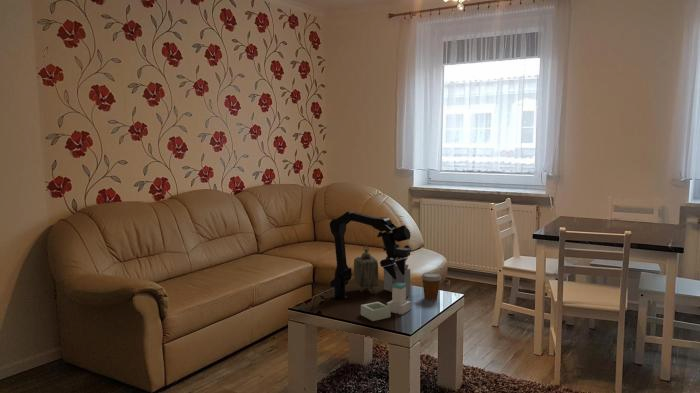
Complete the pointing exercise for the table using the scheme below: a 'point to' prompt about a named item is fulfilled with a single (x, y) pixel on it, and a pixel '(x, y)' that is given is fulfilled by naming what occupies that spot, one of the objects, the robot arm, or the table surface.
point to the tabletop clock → (366, 270)
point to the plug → (399, 293)
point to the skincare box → (387, 281)
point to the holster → (399, 307)
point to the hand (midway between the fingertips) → (399, 276)
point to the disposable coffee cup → (431, 285)
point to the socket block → (375, 311)
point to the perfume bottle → (403, 278)
